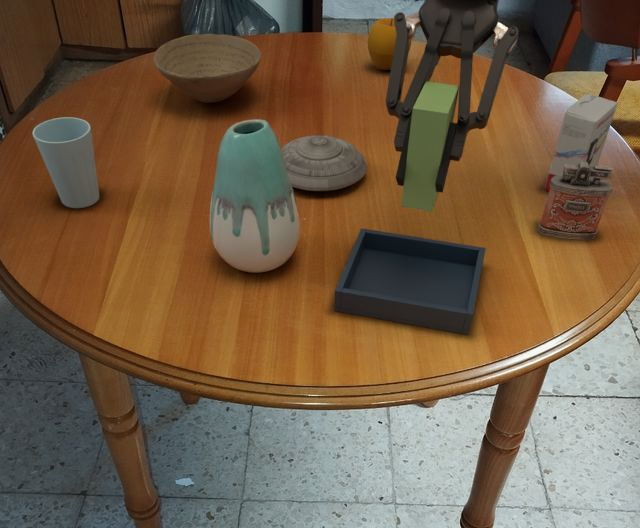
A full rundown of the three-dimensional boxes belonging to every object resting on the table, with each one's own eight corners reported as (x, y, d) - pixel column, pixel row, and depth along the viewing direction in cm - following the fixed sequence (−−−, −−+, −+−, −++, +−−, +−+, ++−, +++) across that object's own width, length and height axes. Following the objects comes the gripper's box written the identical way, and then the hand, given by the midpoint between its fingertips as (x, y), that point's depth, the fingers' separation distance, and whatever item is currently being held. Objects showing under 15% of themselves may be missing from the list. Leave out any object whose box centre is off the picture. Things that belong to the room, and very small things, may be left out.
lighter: (537, 235, 95) (557, 168, 87) (537, 222, 97) (555, 155, 90) (596, 241, 94) (621, 174, 87) (594, 228, 96) (618, 161, 89)
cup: (104, 182, 103) (87, 113, 96) (110, 208, 99) (92, 138, 91) (53, 189, 102) (31, 120, 94) (56, 216, 97) (33, 146, 89)
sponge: (443, 181, 80) (459, 85, 72) (432, 212, 75) (448, 113, 67) (413, 176, 81) (425, 80, 72) (400, 206, 76) (412, 107, 68)
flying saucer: (289, 145, 112) (288, 111, 108) (377, 159, 109) (379, 125, 105) (256, 189, 103) (254, 154, 98) (351, 206, 100) (353, 171, 95)
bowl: (223, 130, 115) (218, 81, 109) (139, 106, 121) (130, 58, 115) (281, 91, 126) (280, 45, 120) (201, 71, 132) (196, 25, 126)
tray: (481, 267, 90) (485, 247, 87) (468, 335, 81) (473, 314, 78) (359, 247, 92) (360, 228, 90) (334, 310, 83) (334, 290, 81)
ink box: (572, 200, 101) (597, 121, 93) (542, 189, 103) (563, 111, 94) (594, 177, 106) (620, 100, 97) (565, 167, 108) (587, 91, 99)
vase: (197, 252, 91) (178, 119, 78) (268, 224, 96) (261, 94, 83) (244, 295, 85) (232, 159, 72) (317, 262, 90) (318, 129, 77)
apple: (387, 81, 130) (391, 30, 123) (356, 67, 134) (358, 18, 127) (417, 69, 134) (422, 19, 127) (386, 56, 138) (390, 8, 131)
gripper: (546, -7, 73) (494, 208, 75) (397, -24, 77) (350, 183, 78) (556, -53, 66) (498, 187, 68) (390, -69, 69) (339, 160, 71)
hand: (419, 184), depth 73 cm, fingers closed on sponge, 4 cm apart
